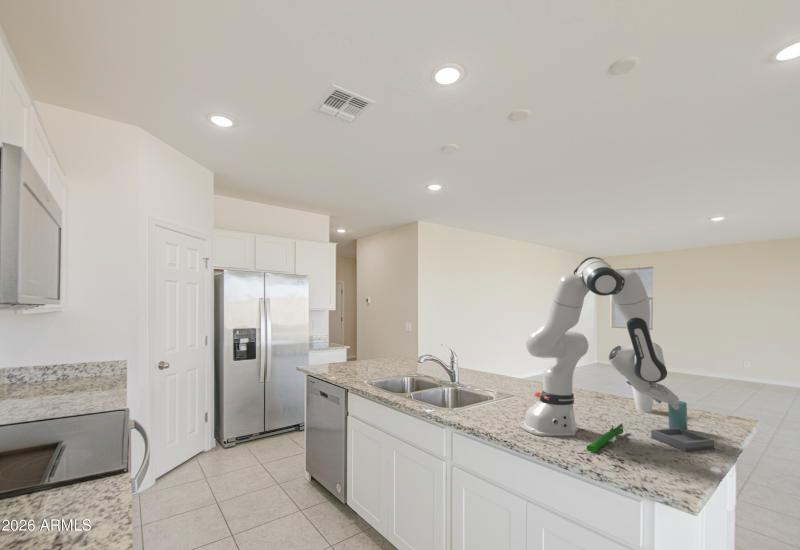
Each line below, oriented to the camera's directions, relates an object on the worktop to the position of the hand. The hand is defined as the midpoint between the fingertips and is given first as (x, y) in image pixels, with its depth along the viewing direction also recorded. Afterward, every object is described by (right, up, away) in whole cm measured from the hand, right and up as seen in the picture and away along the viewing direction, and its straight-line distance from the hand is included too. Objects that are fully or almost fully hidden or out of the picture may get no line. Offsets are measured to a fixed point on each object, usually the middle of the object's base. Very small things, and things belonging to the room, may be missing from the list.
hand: (668, 405), depth 147 cm
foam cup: (+7, -12, +26) cm, 29 cm away
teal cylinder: (+4, -10, 0) cm, 11 cm away
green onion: (-32, -9, -13) cm, 36 cm away
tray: (-5, -9, -14) cm, 17 cm away
